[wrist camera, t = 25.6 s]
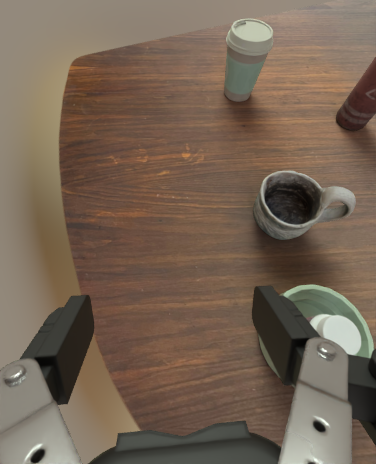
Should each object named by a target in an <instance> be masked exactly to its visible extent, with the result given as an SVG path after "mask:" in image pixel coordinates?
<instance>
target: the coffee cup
mask: <svg viewBox="0 0 376 464" xmlns="http://www.w3.org/2000/svg"><path fill="white" fill-rule="evenodd" d="M226 41H227V44H228V45H227V58H226V71H225V85H224V94H225V95H226V97H227V98H229V99H230V100H233V101H238V102H240V101H245V100H247V99H248V98H249V97H250V94H251V92H252V90H253V87H254V85H255V83H256V80H257V78H258V76H259V73H260V71H261V69H262V66H263V64H264V62H265V59H266V57H267V54H268V52H269V51H270V50H271V49H272V44H273V30H272V28H271V27H270V26H269V25H268V24H266V23H264V22H262V21H260V20H256V19H241V20H238V21H236V22H234V23H233V25H232V27H231V29H230V31H229V32H228V36H227V38H226Z"/></svg>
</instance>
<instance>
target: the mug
mask: <svg viewBox="0 0 376 464" xmlns="http://www.w3.org/2000/svg"><path fill="white" fill-rule="evenodd" d="M336 201H338V202H342V203H343V204H345V205H343V206H341V207H338V208H335V209H325V208H326V207H327V206H328V205H329V204H330V203H332V202H336ZM355 203H356V201H355V196H354V194H353V193H352V192H351V191H349V190H348V189H346V188H343V187H337V186H335V187H329V188H321V187H320V186H319V184H318V183H317V182H316V181H315V180H314V179H312V178H310V177H308V176H307V175H304V174H302V173H297V172H294V171H277V172H275V173H272V174H270V175H268V176H267V177H266V178H265V179H264V180H263V182H262V185H261V188H260V192H259V194H258V196H257V198H256V200H255V203H254V207H253V215H254V218H255V221H256V223H257V224H258V226H259V227H260V228H261V229H262V230H263V231H264V232H265V233H267V234H268V235H269V236H271V237H273V238H276V239H280V240H287V239H292V238H295V237H298V236H300V235H302V234H304V233H305V232H306V231H307V230H309V229H310V227H312V226H313V224H316V223H320V222H329V221H335V220H339V219H343V218H345V217H347V216H349V215H350V214H351V213H352V211H353V210H354V207H355Z"/></svg>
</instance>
